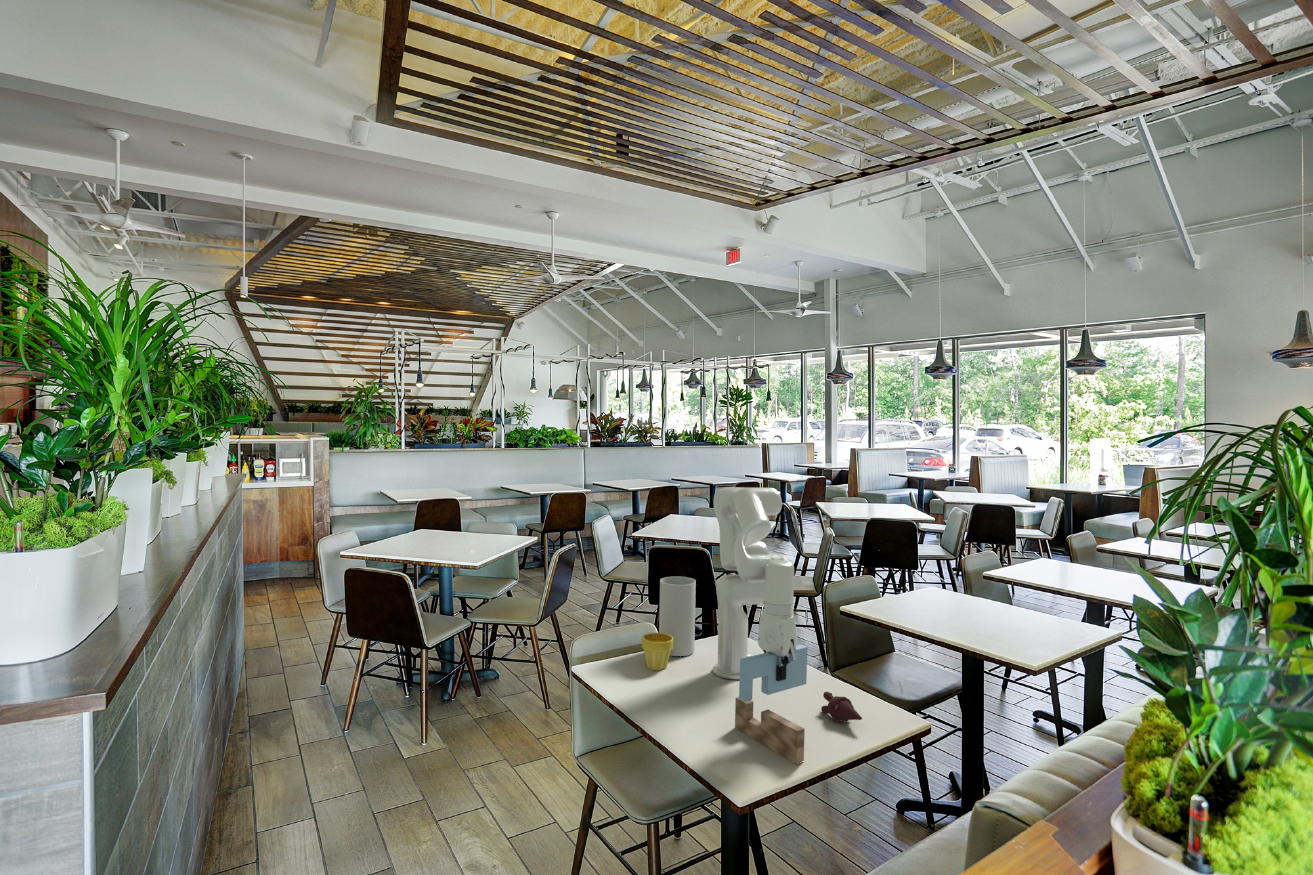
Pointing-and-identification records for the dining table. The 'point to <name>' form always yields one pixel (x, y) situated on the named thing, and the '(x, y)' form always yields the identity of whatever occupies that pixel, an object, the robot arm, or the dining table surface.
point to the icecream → (840, 708)
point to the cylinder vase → (678, 613)
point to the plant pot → (657, 649)
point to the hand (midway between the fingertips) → (776, 677)
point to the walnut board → (771, 731)
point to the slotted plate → (771, 673)
